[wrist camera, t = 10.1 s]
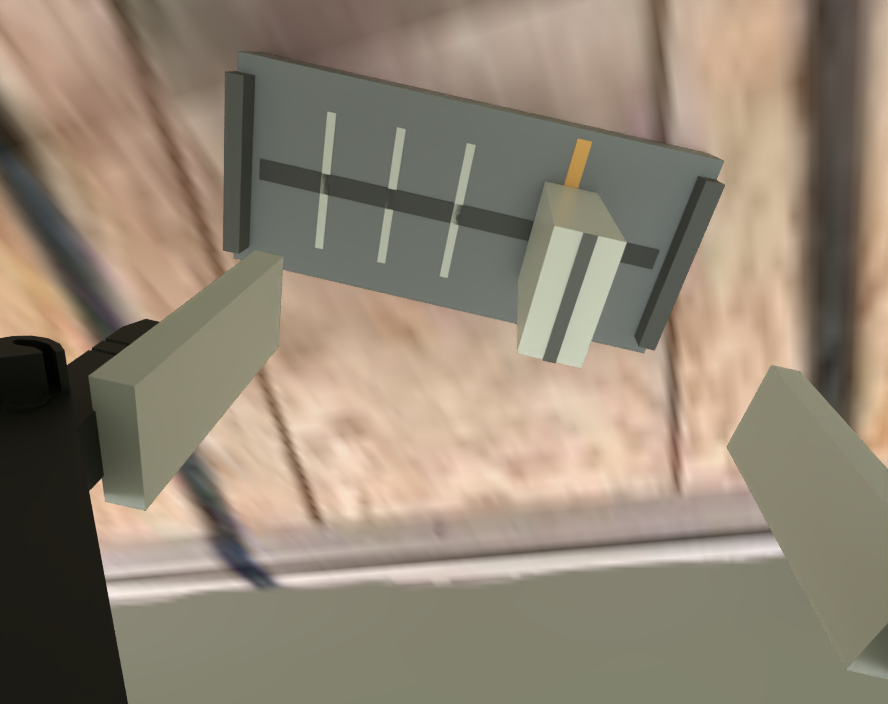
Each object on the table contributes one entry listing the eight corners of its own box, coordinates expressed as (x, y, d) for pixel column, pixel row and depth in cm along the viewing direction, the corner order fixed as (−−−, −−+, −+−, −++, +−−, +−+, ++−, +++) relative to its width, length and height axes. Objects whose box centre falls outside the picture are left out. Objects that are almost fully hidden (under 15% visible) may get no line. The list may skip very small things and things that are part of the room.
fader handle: (545, 181, 32) (554, 226, 23) (597, 193, 32) (627, 243, 23) (517, 280, 34) (516, 354, 26) (565, 291, 34) (581, 369, 26)
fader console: (260, 52, 33) (225, 50, 30) (707, 153, 33) (733, 165, 29) (253, 244, 39) (222, 265, 35) (635, 333, 39) (648, 364, 35)
